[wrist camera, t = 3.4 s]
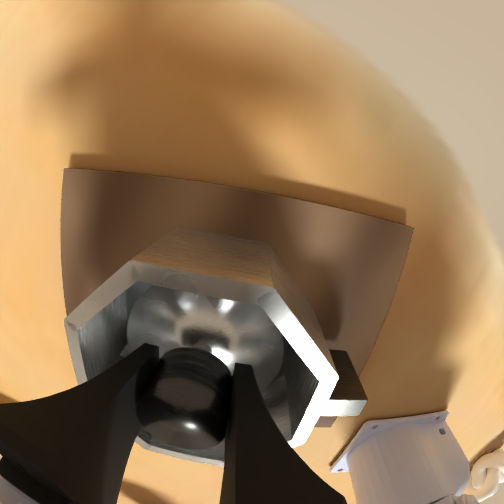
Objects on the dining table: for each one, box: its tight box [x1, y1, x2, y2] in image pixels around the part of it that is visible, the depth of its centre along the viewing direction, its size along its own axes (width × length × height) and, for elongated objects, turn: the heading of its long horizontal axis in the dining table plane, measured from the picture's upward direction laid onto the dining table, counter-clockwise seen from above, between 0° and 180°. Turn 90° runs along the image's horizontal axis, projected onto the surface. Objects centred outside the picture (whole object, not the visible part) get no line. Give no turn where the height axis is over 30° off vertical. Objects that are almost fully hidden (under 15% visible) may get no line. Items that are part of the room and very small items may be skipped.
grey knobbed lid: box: [127, 285, 284, 449], centre depth 10 cm, size 7×7×5 cm
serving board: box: [61, 168, 414, 427], centre depth 14 cm, size 18×14×1 cm
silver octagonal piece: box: [64, 227, 368, 467], centre depth 11 cm, size 12×10×5 cm
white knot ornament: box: [460, 448, 504, 502], centre depth 19 cm, size 11×12×9 cm
